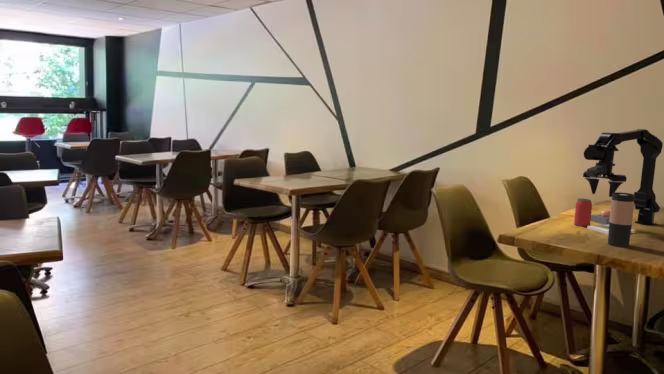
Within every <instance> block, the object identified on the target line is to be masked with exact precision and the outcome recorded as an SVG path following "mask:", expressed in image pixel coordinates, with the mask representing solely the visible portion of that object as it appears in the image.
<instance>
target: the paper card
mask: <svg viewBox="0 0 664 374" xmlns="http://www.w3.org/2000/svg"><path fill="white" fill-rule="evenodd" d="M587 229H588V230H591V231H595V232H598V233H600V234H601V233H602V234H605V235H608V234H609V225H605V224H599V225H590V226H587ZM635 233H636V230H635V229H632V228H631V234H635Z"/></svg>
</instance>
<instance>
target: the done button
mask: <svg viewBox="0 0 664 374" xmlns="http://www.w3.org/2000/svg"><path fill="white" fill-rule="evenodd" d="M610 211H611V210H604V209H603V210H601V213H600V214H601V216H603V217H610Z"/></svg>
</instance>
